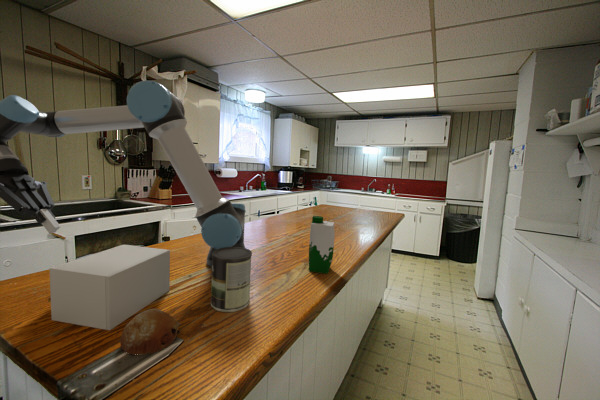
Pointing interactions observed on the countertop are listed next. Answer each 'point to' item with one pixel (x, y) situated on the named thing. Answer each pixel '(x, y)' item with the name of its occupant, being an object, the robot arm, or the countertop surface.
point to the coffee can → (230, 278)
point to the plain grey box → (108, 285)
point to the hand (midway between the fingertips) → (55, 229)
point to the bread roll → (149, 332)
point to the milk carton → (321, 245)
